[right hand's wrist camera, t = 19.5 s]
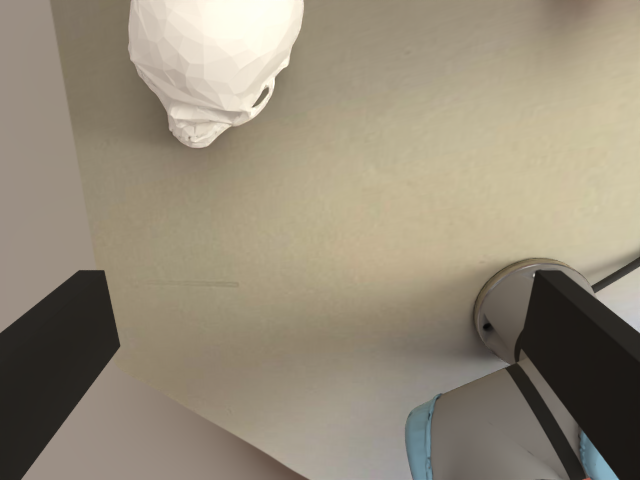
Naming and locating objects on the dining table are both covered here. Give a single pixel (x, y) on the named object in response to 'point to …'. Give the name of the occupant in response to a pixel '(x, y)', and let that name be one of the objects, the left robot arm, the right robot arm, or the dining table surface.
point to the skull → (211, 58)
